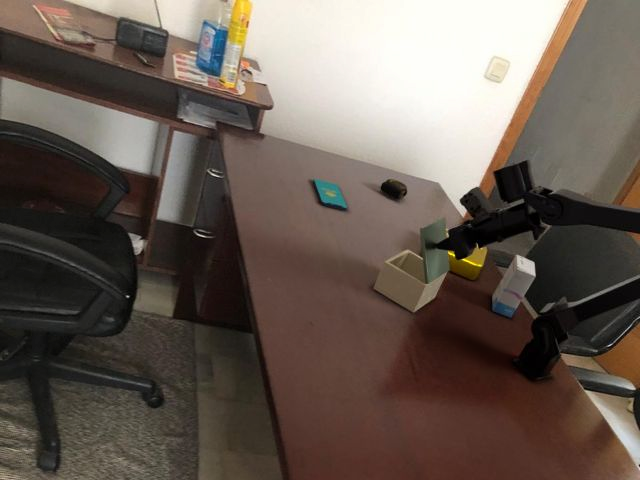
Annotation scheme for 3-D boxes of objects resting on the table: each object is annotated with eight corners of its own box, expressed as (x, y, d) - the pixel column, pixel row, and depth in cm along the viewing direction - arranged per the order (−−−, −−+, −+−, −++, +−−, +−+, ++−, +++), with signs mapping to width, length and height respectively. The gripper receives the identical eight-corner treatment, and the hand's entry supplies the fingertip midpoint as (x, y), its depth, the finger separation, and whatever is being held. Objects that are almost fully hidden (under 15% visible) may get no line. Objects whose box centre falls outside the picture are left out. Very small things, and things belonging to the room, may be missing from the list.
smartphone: (338, 184, 182) (348, 207, 171) (337, 186, 183) (347, 210, 172) (313, 178, 180) (321, 202, 169) (312, 181, 180) (321, 205, 170)
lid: (419, 228, 133) (423, 228, 132) (441, 217, 141) (445, 217, 141) (425, 284, 137) (428, 284, 137) (446, 270, 146) (449, 270, 145)
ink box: (511, 319, 154) (537, 275, 147) (491, 311, 154) (516, 267, 147) (510, 303, 161) (535, 260, 154) (492, 295, 161) (515, 252, 153)
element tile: (419, 258, 164) (427, 241, 161) (429, 238, 176) (436, 222, 173) (474, 282, 163) (483, 266, 160) (481, 261, 175) (489, 245, 172)
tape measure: (377, 192, 190) (381, 179, 188) (389, 189, 195) (393, 176, 193) (396, 203, 188) (401, 190, 186) (407, 199, 193) (412, 187, 190)
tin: (373, 288, 144) (384, 261, 140) (396, 275, 153) (407, 249, 149) (413, 312, 142) (425, 285, 137) (434, 298, 150) (447, 272, 146)
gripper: (511, 175, 134) (442, 201, 143) (479, 189, 120) (406, 216, 129) (525, 229, 136) (457, 250, 146) (496, 249, 123) (423, 271, 132)
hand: (437, 246), depth 138 cm, fingers closed, pressing on lid
